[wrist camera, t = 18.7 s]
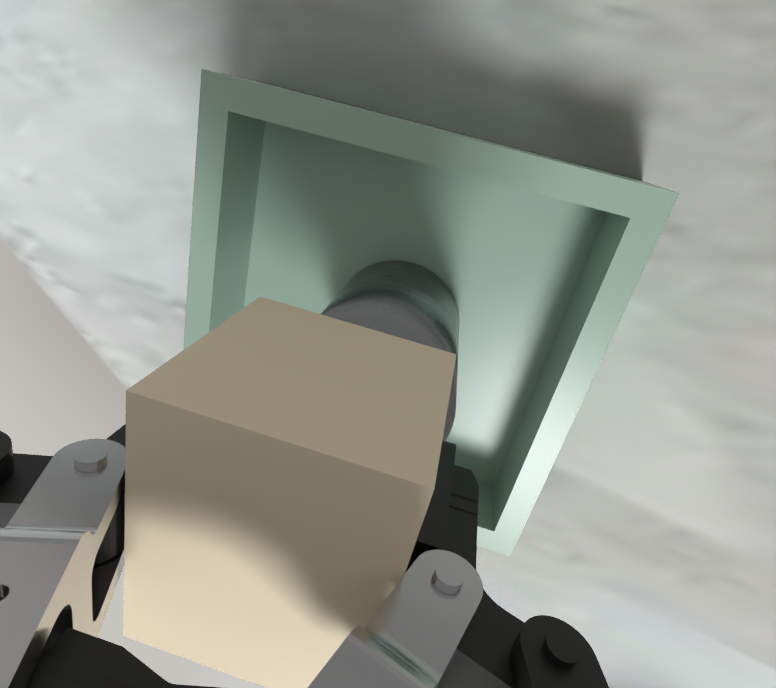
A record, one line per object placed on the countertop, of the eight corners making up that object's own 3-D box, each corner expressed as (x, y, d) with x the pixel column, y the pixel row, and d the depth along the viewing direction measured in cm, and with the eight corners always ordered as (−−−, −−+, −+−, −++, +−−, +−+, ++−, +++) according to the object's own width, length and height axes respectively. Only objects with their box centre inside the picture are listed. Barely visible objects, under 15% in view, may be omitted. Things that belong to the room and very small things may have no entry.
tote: (642, 181, 18) (679, 193, 15) (507, 494, 24) (510, 556, 21) (256, 81, 19) (201, 69, 16) (221, 403, 26) (177, 447, 22)
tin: (460, 260, 20) (458, 318, 13) (458, 380, 22) (454, 482, 15) (331, 260, 20) (268, 314, 14) (339, 376, 22) (288, 471, 16)
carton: (456, 354, 12) (434, 489, 7) (397, 536, 14) (354, 719, 10) (260, 296, 12) (126, 390, 8) (235, 482, 15) (122, 636, 10)
